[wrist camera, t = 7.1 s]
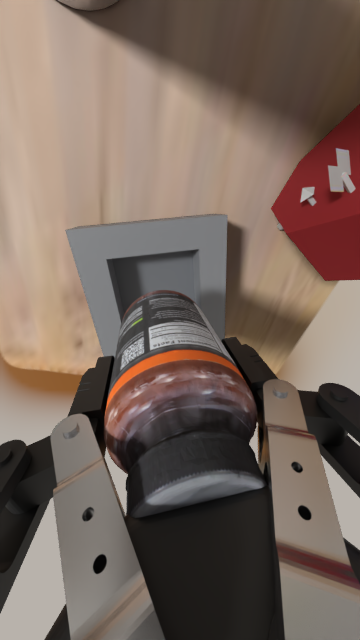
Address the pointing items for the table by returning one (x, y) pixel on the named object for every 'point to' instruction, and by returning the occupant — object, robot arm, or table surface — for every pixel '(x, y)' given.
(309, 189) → the alarm clock
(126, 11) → the table surface
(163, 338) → the supplement bottle
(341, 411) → the robot arm
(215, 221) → the socket holder
